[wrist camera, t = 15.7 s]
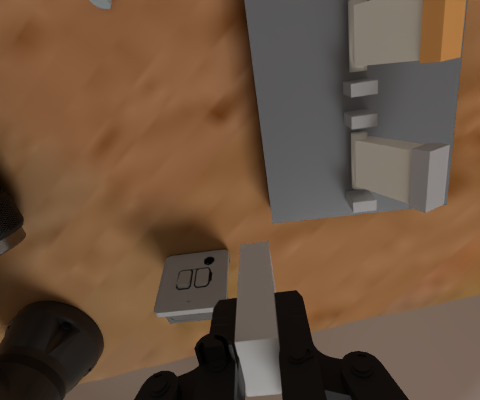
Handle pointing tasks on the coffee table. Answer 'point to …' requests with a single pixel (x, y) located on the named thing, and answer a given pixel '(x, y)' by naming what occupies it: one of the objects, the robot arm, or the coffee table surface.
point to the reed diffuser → (102, 3)
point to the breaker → (400, 169)
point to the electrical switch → (192, 286)
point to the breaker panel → (335, 107)
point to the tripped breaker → (404, 31)
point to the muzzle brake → (10, 223)
